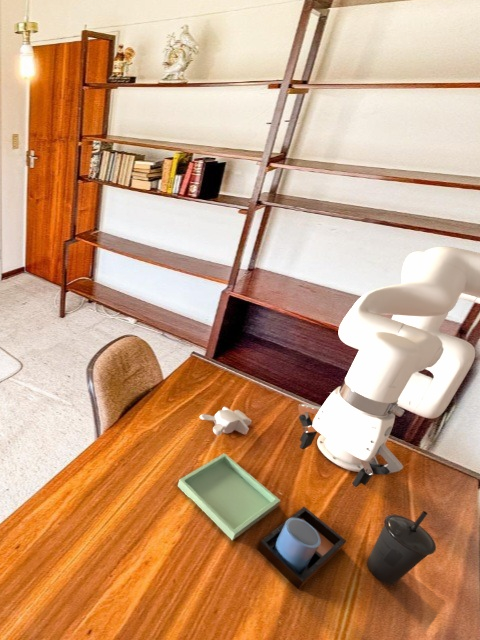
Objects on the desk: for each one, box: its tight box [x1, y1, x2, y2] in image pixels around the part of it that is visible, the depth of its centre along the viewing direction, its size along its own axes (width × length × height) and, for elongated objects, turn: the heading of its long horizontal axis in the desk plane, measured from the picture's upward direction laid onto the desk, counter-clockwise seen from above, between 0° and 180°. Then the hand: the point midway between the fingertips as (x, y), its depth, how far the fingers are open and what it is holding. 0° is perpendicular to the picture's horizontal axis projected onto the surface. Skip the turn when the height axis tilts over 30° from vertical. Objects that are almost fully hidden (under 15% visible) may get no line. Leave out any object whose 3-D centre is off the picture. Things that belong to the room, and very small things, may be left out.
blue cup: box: [273, 517, 321, 573], centre depth 84 cm, size 6×6×9 cm
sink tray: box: [177, 452, 281, 541], centre depth 98 cm, size 18×16×3 cm
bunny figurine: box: [199, 406, 253, 436], centre depth 118 cm, size 10×5×15 cm
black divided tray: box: [256, 506, 347, 591], centre depth 87 cm, size 17×9×3 cm, turn 119°
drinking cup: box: [366, 510, 437, 585], centre depth 80 cm, size 8×8×20 cm
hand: (330, 463), depth 79 cm, fingers open, 9 cm apart
